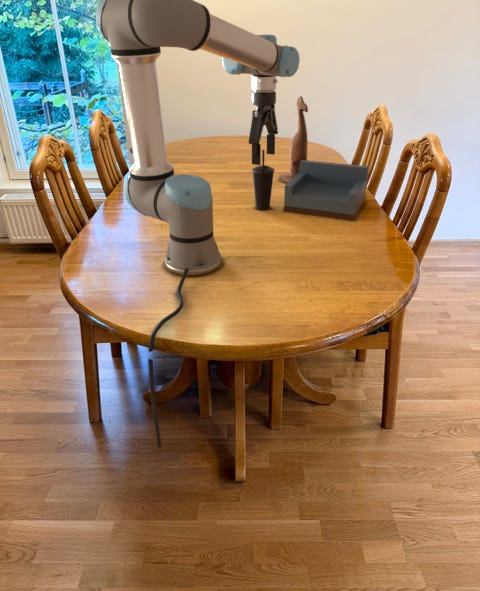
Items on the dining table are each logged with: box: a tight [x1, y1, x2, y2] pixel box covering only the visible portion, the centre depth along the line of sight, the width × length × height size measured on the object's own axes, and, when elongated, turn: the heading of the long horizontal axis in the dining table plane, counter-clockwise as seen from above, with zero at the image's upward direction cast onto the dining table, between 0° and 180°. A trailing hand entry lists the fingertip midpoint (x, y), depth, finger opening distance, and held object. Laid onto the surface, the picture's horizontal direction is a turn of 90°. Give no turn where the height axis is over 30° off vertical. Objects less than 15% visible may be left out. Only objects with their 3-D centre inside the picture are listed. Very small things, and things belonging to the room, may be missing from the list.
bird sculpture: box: [278, 95, 309, 184], centre depth 190 cm, size 11×12×32 cm
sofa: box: [283, 159, 370, 221], centre depth 168 cm, size 19×24×13 cm
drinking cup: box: [251, 149, 275, 211], centre depth 166 cm, size 8×8×20 cm
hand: (263, 159), depth 163 cm, fingers open, 13 cm apart
